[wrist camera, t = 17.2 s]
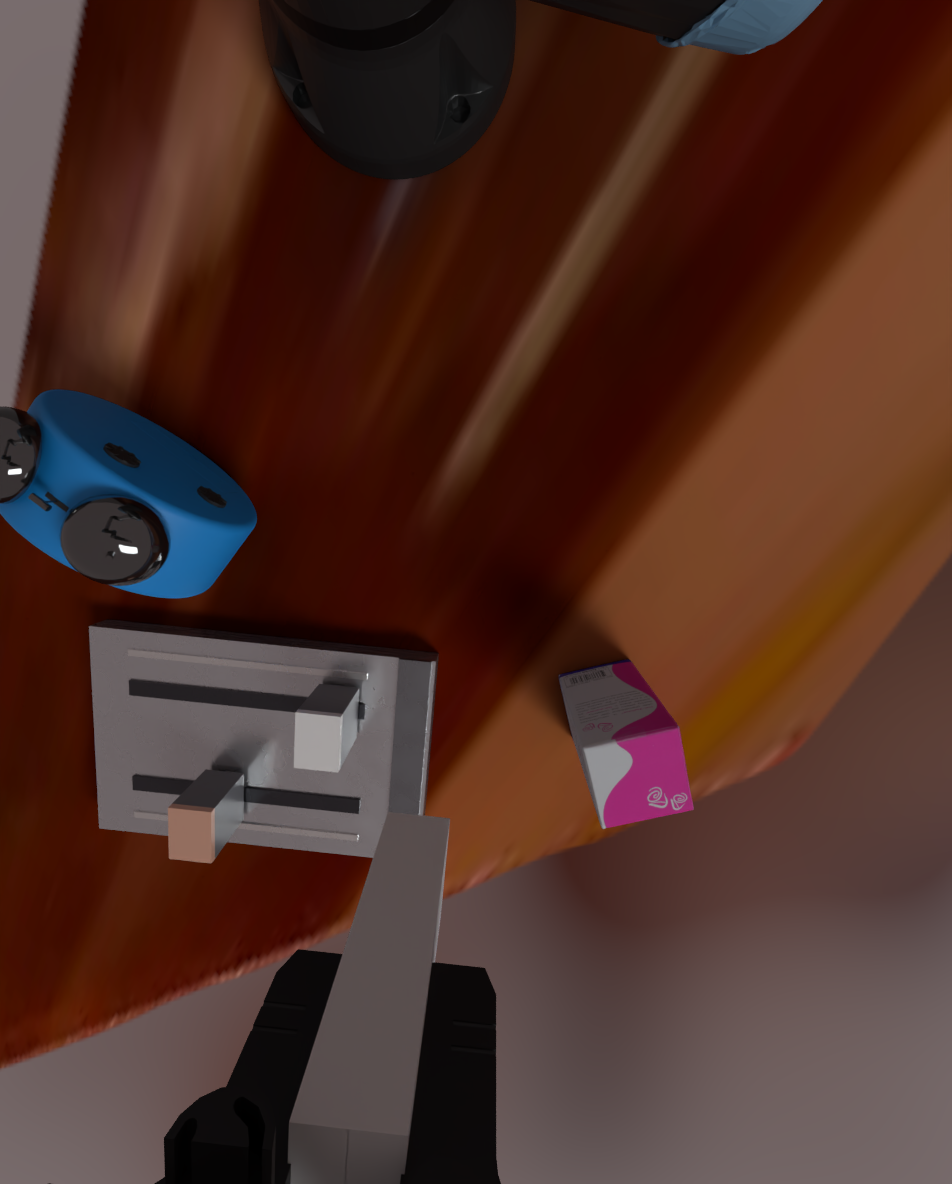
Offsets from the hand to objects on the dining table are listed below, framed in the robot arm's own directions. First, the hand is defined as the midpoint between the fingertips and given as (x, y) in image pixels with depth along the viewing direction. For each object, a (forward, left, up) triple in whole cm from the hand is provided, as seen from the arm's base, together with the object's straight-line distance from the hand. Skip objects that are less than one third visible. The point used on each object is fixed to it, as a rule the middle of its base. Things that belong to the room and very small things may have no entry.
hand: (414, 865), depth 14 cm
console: (+13, -15, -29) cm, 35 cm away
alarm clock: (-6, -21, -30) cm, 37 cm away
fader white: (+9, -9, -27) cm, 30 cm away
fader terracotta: (+17, -18, -27) cm, 36 cm away
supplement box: (+7, +11, -30) cm, 32 cm away
